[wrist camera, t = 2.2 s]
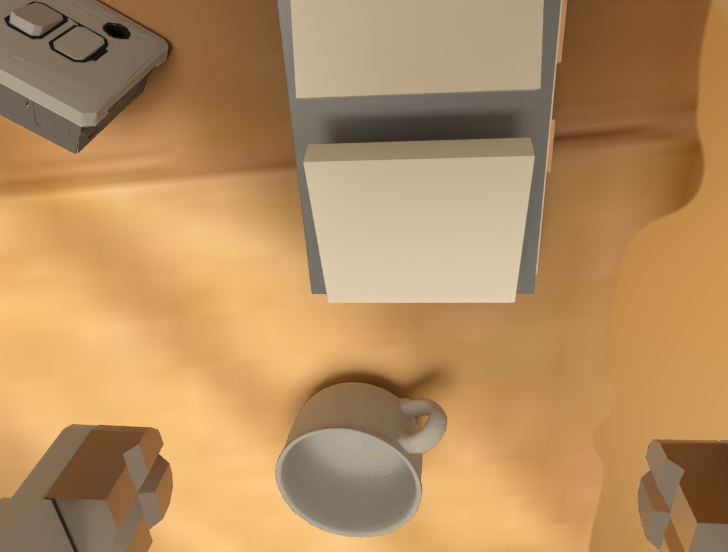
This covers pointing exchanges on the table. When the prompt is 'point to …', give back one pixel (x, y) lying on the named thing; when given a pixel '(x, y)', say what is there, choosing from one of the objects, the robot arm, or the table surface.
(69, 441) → the robot arm
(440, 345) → the table surface
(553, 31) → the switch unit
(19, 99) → the electrical switch
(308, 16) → the rocker
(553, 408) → the table surface
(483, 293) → the block
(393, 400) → the teacup
